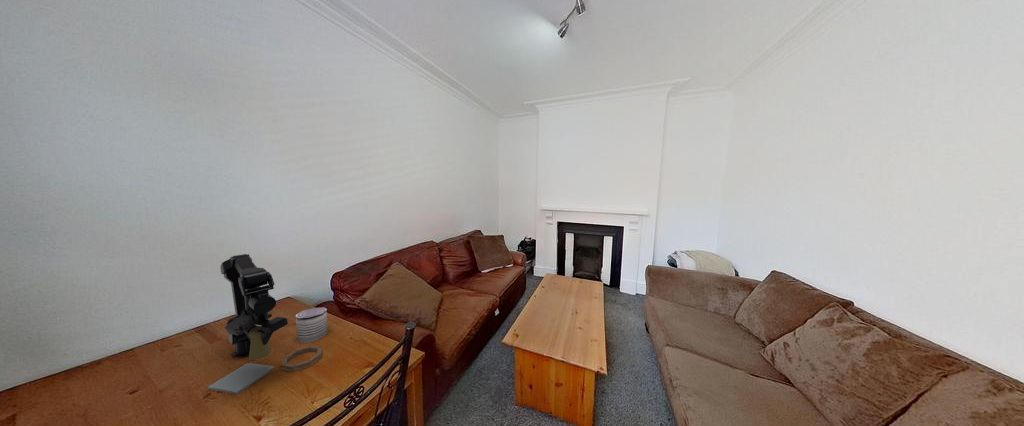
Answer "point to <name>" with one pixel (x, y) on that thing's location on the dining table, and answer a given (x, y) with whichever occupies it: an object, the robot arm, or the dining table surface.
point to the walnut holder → (302, 365)
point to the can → (311, 324)
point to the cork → (258, 345)
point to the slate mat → (241, 378)
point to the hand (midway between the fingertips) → (259, 343)
